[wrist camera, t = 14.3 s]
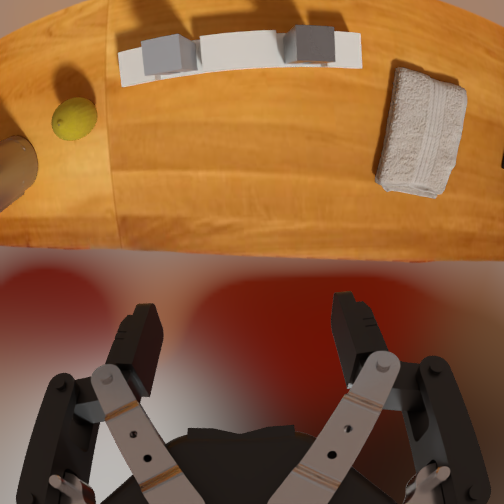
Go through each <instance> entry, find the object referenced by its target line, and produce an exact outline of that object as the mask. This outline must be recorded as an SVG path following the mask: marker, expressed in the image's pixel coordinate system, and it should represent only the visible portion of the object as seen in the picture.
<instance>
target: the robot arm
mask: <svg viewBox="0 0 504 504" xmlns="http://www.w3.org/2000/svg"><path fill="white" fill-rule="evenodd" d="M37 171H38V162H37V156H36V153H35V151H34V149H33V147H32V145H31V144H30V143H29V142H28V141H27V140H26V139H25V138H23V137H21V136H11V137H9V138H7V139H5V140H2V141H0V212H2V211H3V210H4V209H5V208H7V207H8V206H9V205H10V204H12V203H13V202H14V201H16V200H17V199H18V198H20V197H21V196H22V195H23V194H24V191H25V190H26V189H28V188H29V187H30V186H31V185H32V184H33V183H34V181H35V179H36V176H37ZM331 328H332V333H333V336H334V340H335V344H336V347H337V351H338V354H339V358H340V362H341V366H342V370H343V374H344V378H345V382H346V386H347V389H349V388H351V389H350V391H349V392H348V394H345V395H344V397H343V398H342V400H341V401H340V403H339V405H338V406H337V408H336V410H335V411H334V413H333V414H332V416H331V418H330V419H329V421H328V422H327V424H326V425H325V427H324V428H323V430H322V431H321V433H320V434H319V436H318V437H317V438H315V437H313V436H311V435H308V434H306V433H301V432H295V429H294V425H287V426H273V427H266V428H262V429H258V430H255V431H251V432H247V433H243V434H236V433H232V432H227V431H222V430H218V429H213V428H208V429H207V428H188V434H187V435H184V436H181V437H178V438H176V439H173V440H172V441H170V442H168V443H167V444H166V443H165V442H164V441H163V439H162V438H161V436H160V435H159V433H158V431H157V430H156V428H155V427H154V425H153V424H152V422H151V420H150V419H149V417H148V416H147V414H146V412H145V411H144V409H143V407H142V406H141V404H140V401H141V397H150V394H151V390H152V385H153V381H154V376H155V372H156V368H157V363H158V359H159V355H160V351H161V347H162V343H163V327H162V325H161V322H160V319H159V316H158V313H157V310H156V307H155V305H154V304H153V303H152V304H151V303H149V304H137V305H136V308H135V310H134V313H133V315H127V317H126V318H125V319H124V320H123V321H122V322H121V324H120V326H119V329H118V333H117V334H116V336H115V340H114V342H113V344H112V347H111V350H110V352H109V355H108V358H107V360H106V363H105V365H102V366H100V367H98V368H97V369H96V370H95V371H94V372H93V374H92V376H91V377H87V378H82V379H77V380H75V379H74V378H73V377H72V376H71V375H70V374H67V373H61V374H58V375H56V376H55V377H53V378H52V380H51V381H50V382H49V385H48V387H47V390H46V393H45V396H44V398H43V401H42V404H41V407H40V410H39V413H38V416H37V420H36V423H35V425H34V429H33V432H32V435H31V439H30V442H29V445H28V449H27V453H26V456H25V460H24V464H23V468H22V472H21V476H20V480H19V485H18V489H17V495H16V502H17V504H96V500H95V493H94V491H93V489H92V488H91V487H90V486H89V485H88V484H89V477H90V472H91V465H92V460H93V454H94V449H95V444H96V439H97V434H98V429H99V425H100V422H103V421H106V424H107V426H108V428H109V430H110V432H111V434H112V436H113V438H114V440H115V442H116V444H117V446H118V448H119V450H120V451H121V454H122V455H123V457H124V459H125V461H126V463H127V465H128V466H129V468H130V470H131V471H132V473H133V475H132V476H131V477H130V478H128V479H127V480H126V481H125V482H124V483H123V484H122V485H121V486H120V487H119V488H117V489H116V490H115V491H114V492H113V493H112V494H110V495H109V496H108V497H107V498H106V499H105V500H104V501H102V502H101V503H100V504H397V503H396V502H395V501H394V500H393V499H392V498H391V497H390V496H388V495H387V494H386V493H384V492H383V491H382V490H381V489H379V488H378V487H377V486H375V485H374V484H373V483H372V482H370V481H369V480H368V479H366V478H365V477H364V476H363V475H361V474H360V473H359V472H358V471H357V470H355V469H354V468H353V467H352V464H353V463H354V461H355V459H356V457H357V456H358V454H359V452H360V450H361V449H362V447H363V445H364V443H365V441H366V440H367V438H368V435H369V434H370V432H371V430H372V428H373V426H374V424H375V422H376V420H377V418H378V416H379V414H380V412H381V410H382V409H389V410H400V411H402V413H403V417H404V421H405V425H406V429H407V433H408V437H409V442H410V446H411V450H412V454H413V459H414V465H415V469H416V475H415V476H413V477H412V478H411V479H410V481H409V482H408V484H407V486H406V497H405V500H404V502H403V504H486V503H487V502H488V500H489V498H490V494H491V487H490V482H489V478H488V475H487V471H486V467H485V464H484V460H483V457H482V454H481V450H480V447H479V444H478V441H477V438H476V435H475V432H474V429H473V426H472V423H471V420H470V417H469V414H468V412H467V409H466V406H465V403H464V401H463V398H462V395H461V393H460V390H459V388H458V385H457V383H456V380H455V378H454V376H453V373H452V371H451V368H450V366H449V364H448V363H447V362H446V361H445V360H444V359H443V358H441V357H438V356H428V357H426V358H424V359H423V360H422V362H421V363H420V364H417V363H407V362H402V361H399V359H398V358H397V357H396V356H395V355H394V354H392V353H390V352H389V351H388V349H387V346H386V344H385V341H384V339H383V336H382V334H381V332H380V329H379V327H378V326H377V322H376V320H375V318H374V315H373V313H372V310H371V308H370V307H368V305H366V304H365V303H364V302H363V301H362V302H356V301H355V298H354V296H353V294H352V292H351V291H347V292H336V293H334V297H333V306H332V315H331Z"/></svg>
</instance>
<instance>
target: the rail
mask: <svg viewBox="0 0 504 504" xmlns="http://www.w3.org/2000/svg"><path fill="white" fill-rule="evenodd" d="M286 34H287V33H276V30H261V31H244V32H232V33H221V34H213V35H205V36H200V39H199V40H192V41H190V40H189V39H187V38H185V37H183V36H182V35H180V34H174V35H168V36H163V37H158V38H153V39H149V40H144V41H141V46H142V47H139V48H134V49H130V50H126V51H122V52H119V53H118V59H119V68H120V76H121V84H122V87H127V86H133V85H137V84H142V83H147V82H152V81H157V80H162V79H168V78H174V77H180V76H187V75H194V74H201V73H209V72H218V71H228V70H239V69H253V68H272V67H335V68H362V53H361V35H360V33H353V32H341V31H334V35H335V62H331V63H322V64H314V65H312V64H303V63H299V64H285V63H284V42H283V37H284V36H285V35H286Z"/></svg>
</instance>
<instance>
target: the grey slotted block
mask: <svg viewBox="0 0 504 504" xmlns="http://www.w3.org/2000/svg"><path fill="white" fill-rule="evenodd" d="M283 42H284V63H285V64H299V63H303V64H312V65H314V64H322V63H331V62H335V35H334V27H329V26H313V25H295V26H294V27H293V28H292V29H291V30H290V31H289V32H288V33H287V34H286V35H285V36H284V37H283Z"/></svg>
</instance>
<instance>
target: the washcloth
mask: <svg viewBox="0 0 504 504" xmlns="http://www.w3.org/2000/svg"><path fill="white" fill-rule="evenodd" d="M395 69H396V71H395V78H394V82H393V89H392V100H391V103H390V104H391V106H390V110H389V116H388V118H387V128H386V135H385V139H384V142H383V143H384V146H383V150H382V153H381V158H380V163H379V165H378V169H377V174H376V176H375V182H376V183H378V184H379V185H382V187H383V188H384V190H385V191H387V192H388V191H399V192H404V193H409V194H414V195H419V196H424V197H429V198H434V199H435V198H436V197H437V194H441V193H443V191H444V190H445V187H446V184H447V181H448V178H449V175H450V173H451V171H452V169H453V168H454V167H455V164H456V156H457V151H458V146H459V142H460V139H461V135H462V130H463V121H464V116H465V112H466V105H467V95H466V90H465V89H464V88H462V87H461V86H458V85H454V84H451V83H447V82H441V81H438V80H435V79H433V78H430V76H429V75H425V74H423V73H420V72H418V71H413V70H409V69H407V68H404V67H398V68H395Z"/></svg>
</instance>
